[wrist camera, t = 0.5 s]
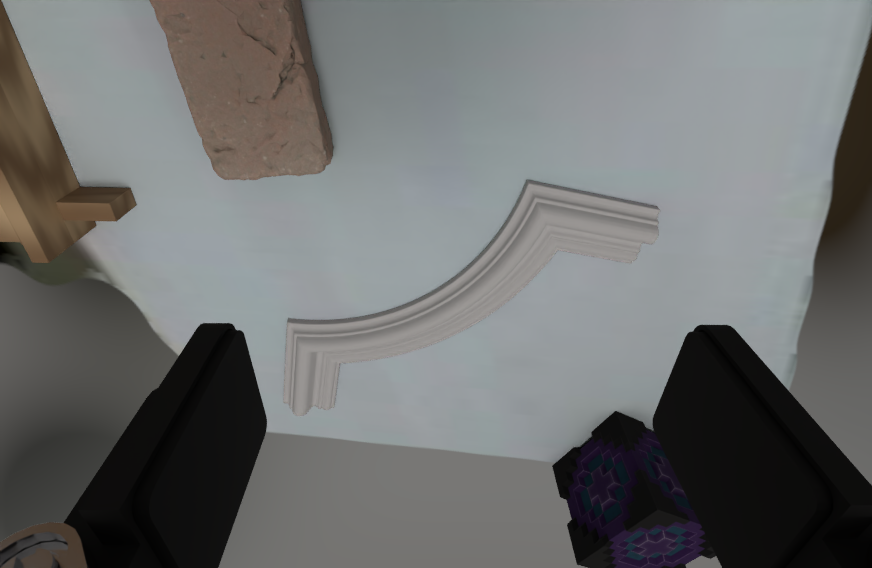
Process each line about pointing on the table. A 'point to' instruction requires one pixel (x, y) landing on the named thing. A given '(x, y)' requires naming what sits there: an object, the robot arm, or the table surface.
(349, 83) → the table surface
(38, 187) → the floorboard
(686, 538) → the energy cube
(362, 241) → the table surface
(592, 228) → the molding
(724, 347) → the robot arm
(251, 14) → the brick
